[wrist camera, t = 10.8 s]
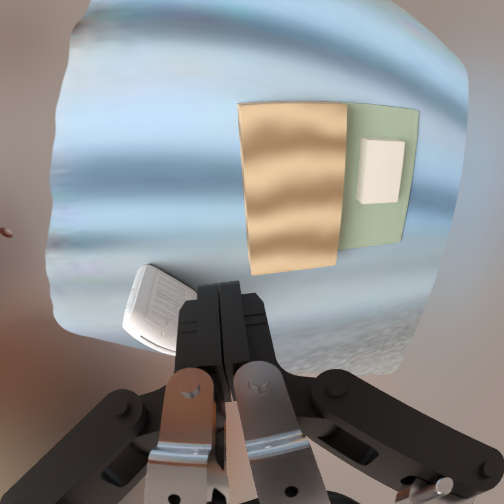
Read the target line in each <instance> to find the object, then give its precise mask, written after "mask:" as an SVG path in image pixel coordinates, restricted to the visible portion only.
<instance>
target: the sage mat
mask: <svg viewBox="0 0 504 504" xmlns="http://www.w3.org/2000/svg"><path fill="white" fill-rule="evenodd" d="M337 103H342V104H346V105H347V134H346V158H345V175H344V189H343V202H342V213H341V223H340V233H339V242H338V250H342V249H350V248H358V247H366V246H374V245H382V244H390V243H397V242H400V240H401V235H402V231H403V226H404V221H405V216H406V211H407V206H408V200H409V194H410V188H411V182H412V175H413V168H414V160H415V152H416V142H417V131H418V118H419V111H418V110H413V109H406V108H399V107H391V106H383V105H373V104H362V103H348V102H337ZM361 137H378V138H395V139H399V140H401V141H404V142H405V148H404V157H403V166H402V174H401V181H400V188H399V195H398V201H397V202H391V203H374V204H361V203H360V202H359V201H358V200H357V199H356V195H357V185H358V173H359V160H360V143H361Z"/></svg>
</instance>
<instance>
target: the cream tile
mask: <svg viewBox="0 0 504 504" xmlns="http://www.w3.org/2000/svg"><path fill="white" fill-rule="evenodd" d="M404 148H405V142H404V141H401V140H399V139H395V138H378V137H361V143H360V160H359V173H358V185H357V195H356V199H357V200H358V201H359V202H360V203H361V204H374V203H391V202H397V201H398V195H399V188H400V181H401V174H402V166H403V157H404Z"/></svg>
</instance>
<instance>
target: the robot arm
mask: <svg viewBox="0 0 504 504" xmlns="http://www.w3.org/2000/svg"><path fill="white" fill-rule="evenodd" d="M219 287H220V291H219ZM177 333H178V334H177V342H176V356H175V370H174V374H173V375H172V376H171V377H170V378H169V380H168V382H167V384H166V385H165V386H163V387H162V388H160V389H158V390H156V391H153V392H150V393H147V394H144V395H140V396H138V395H137V394H136V393H134V392H132V391H130V390H126V389H119V390H115V391H113V392H111V393H109V394H108V395H107V396H106V397H105V398H104V399H103V400H102V401H101V402H100V403H98V404H97V405H96V406H95V407H94V408H93V409H92V410H91V411H90V412H89V413H88V414H87V415H86V416H85V417H84V418H83V419H82V420H81V421H80V422H79V423H78V424H77V425H76V426H75V427H74V428H73V429H72V430H70V432H68V433H67V434H66V435H65V436H64V437H63V438H62V439H61V440H60V441H59V442H58V443H57V444H56V445H55V446H54V447H53V448H52V449H51V450H50V451H49V452H48V453H47V454H46V455H45V456H43V457H42V459H40V460H39V461H38V462H37V463H36V464H35V465H34V466H33V467H32V468H31V469H30V470H29V471H28V472H27V473H26V474H25V475H24V476H23V477H22V478H21V479H20V480H19V481H18V482H17V483H15V484H14V485H13V486H12V487H11V488H10V489H9V490H8V491H7V492H6V493H5V494H4V495H3V496H2V498H1V501H0V504H118V503H119V502H120V501H121V500H122V499H123V498H124V497H125V496H126V495H127V494H128V493H129V491H131V490H132V489H133V488H134V486H136V484H137V483H138V482H139V481H140V480H141V479H142V478H143V477H144V476H145V475H146V483H145V494H144V504H229V484H228V483H229V482H228V476H227V468H226V413H225V402H231V393H232V397H233V401H237V405H238V410H239V415H240V419H241V424H242V429H243V433H244V438H245V442H246V447H247V452H248V457H249V461H250V466H251V470H252V474H253V478H254V482H255V487H256V491H257V495H258V498H256V499H254V500H250V501H248V502H244V503H241V504H360V503H358V502H357V501H355V500H353V499H351V498H349V497H347V496H345V495H342V494H339V493H336V492H332V491H327V490H326V489H325V486H324V483H323V480H322V477H321V474H320V471H319V469H318V466H317V463H316V460H315V457H314V454H313V451H312V449H311V446H310V443H309V442H308V440H307V438H306V437H305V436H307V437H308V438H310V439H311V440H312V441H314V442H315V443H317V444H318V445H320V446H321V447H323V448H324V449H326V450H327V451H329V452H331V453H332V454H334V455H335V456H337V457H338V458H340V459H341V460H343V461H345V462H346V463H348V464H350V465H351V466H353V467H355V468H356V469H358V470H360V471H361V472H363V473H365V474H366V475H368V476H370V477H372V478H373V479H375V480H377V481H379V482H381V483H383V484H385V485H386V486H388V487H390V488H392V489H394V490H396V491H398V493H397V495H396V499H395V504H473V502H474V500H475V498H476V496H477V495H479V494H481V493H483V492H486V491H488V490H490V489H492V488H494V487H495V486H496V485H497V484H498V483H499V482H500V480H501V478H502V476H503V474H504V458H503V456H502V454H501V453H500V452H499V451H498V450H497V449H495V448H492V447H490V446H488V445H486V444H484V443H482V442H479V441H477V440H475V439H473V438H471V437H469V436H467V435H465V434H463V433H460V432H458V431H456V430H454V429H452V428H450V427H448V426H446V425H444V424H443V423H440V422H439V421H437V420H434V419H433V418H431V417H429V416H427V415H425V414H423V413H421V412H419V411H417V410H416V409H414V408H412V407H410V406H408V405H406V404H404V403H403V402H401V401H399V400H397V399H395V398H393V397H392V396H390V395H388V394H386V393H385V392H383V391H381V390H379V389H377V388H376V387H374V386H372V385H370V384H368V383H367V382H365V381H363V380H362V379H360V378H358V377H357V376H355V375H353V374H351V373H350V372H348V371H345V370H341V369H331V370H327V371H325V372H323V373H321V374H320V375H319V376H317V378H313V377H303V376H296V375H293V374H290V373H288V372H286V371H285V370H284V369H282V368H281V367H280V365H279V364H278V362H277V360H276V357H275V352H274V348H273V343H272V339H271V335H270V330H269V326H268V321H267V317H266V312H265V308H264V303H263V301H262V300H261V299H260V298H259V296H258V295H257V294H256V293H249V294H241V291H240V284H239V281H230V282H222V283H219V285H218V283H214V284H204V285H198V296H197V299H196V300H186V301H185V302H184V304H183V306H182V307H181V309H180V310H179V317H178V329H177ZM230 389H231V391H230Z"/></svg>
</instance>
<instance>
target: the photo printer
mask: <svg viewBox="0 0 504 504" xmlns="http://www.w3.org/2000/svg"><path fill="white" fill-rule="evenodd" d="M196 299H197V293H196V292H195V291H194V290H193V289H191V288H190V287H188V286H186V285H185V284H183V283H181V282H180V281H178V280H176V279H175V278H173V277H171V276H169V275H168V274H166V273H164V272H163V271H161V270H159V269H157V268H155V267H154V266H151V265H149V264H147V265H144V266H142V267H140V268H139V270H138V272H137V275H136V278H135V281H134V284H133V287H132V290H131V293H130V296H129V299H128V303H127V306H126V309H125V313H124V320H123V328H124V329H125V330H126V331H127V332H128V333H129V334H130V335H132V336H133V337H134V338H136V339H137V340H139V341H140V342H142V343H143V344H145V345H147V346H149V347H151V348H153V349H155V350H158V351H160V352H163V353H166V354H170V355H175V356H176V342H177V334H178V333H177V329H178V317H179V310H180V309H181V307H182V306H183V304H184V302H185V301H186V300H196Z"/></svg>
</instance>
